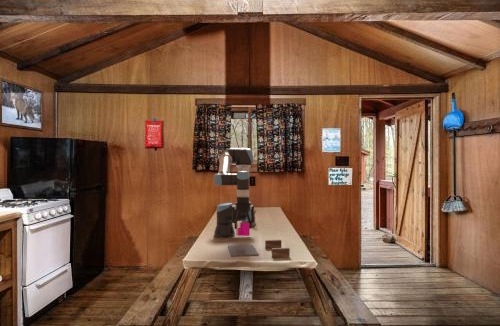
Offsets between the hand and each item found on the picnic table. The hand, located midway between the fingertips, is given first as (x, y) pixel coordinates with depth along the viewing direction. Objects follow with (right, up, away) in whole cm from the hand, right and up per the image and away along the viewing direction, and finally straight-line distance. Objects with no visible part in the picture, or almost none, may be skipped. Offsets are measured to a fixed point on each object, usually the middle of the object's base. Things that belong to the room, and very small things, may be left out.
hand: (242, 234), depth 200 cm
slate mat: (0, -10, 0) cm, 10 cm away
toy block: (0, -1, 0) cm, 1 cm away
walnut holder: (+21, -10, -3) cm, 23 cm away
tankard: (+4, -10, +77) cm, 78 cm away
